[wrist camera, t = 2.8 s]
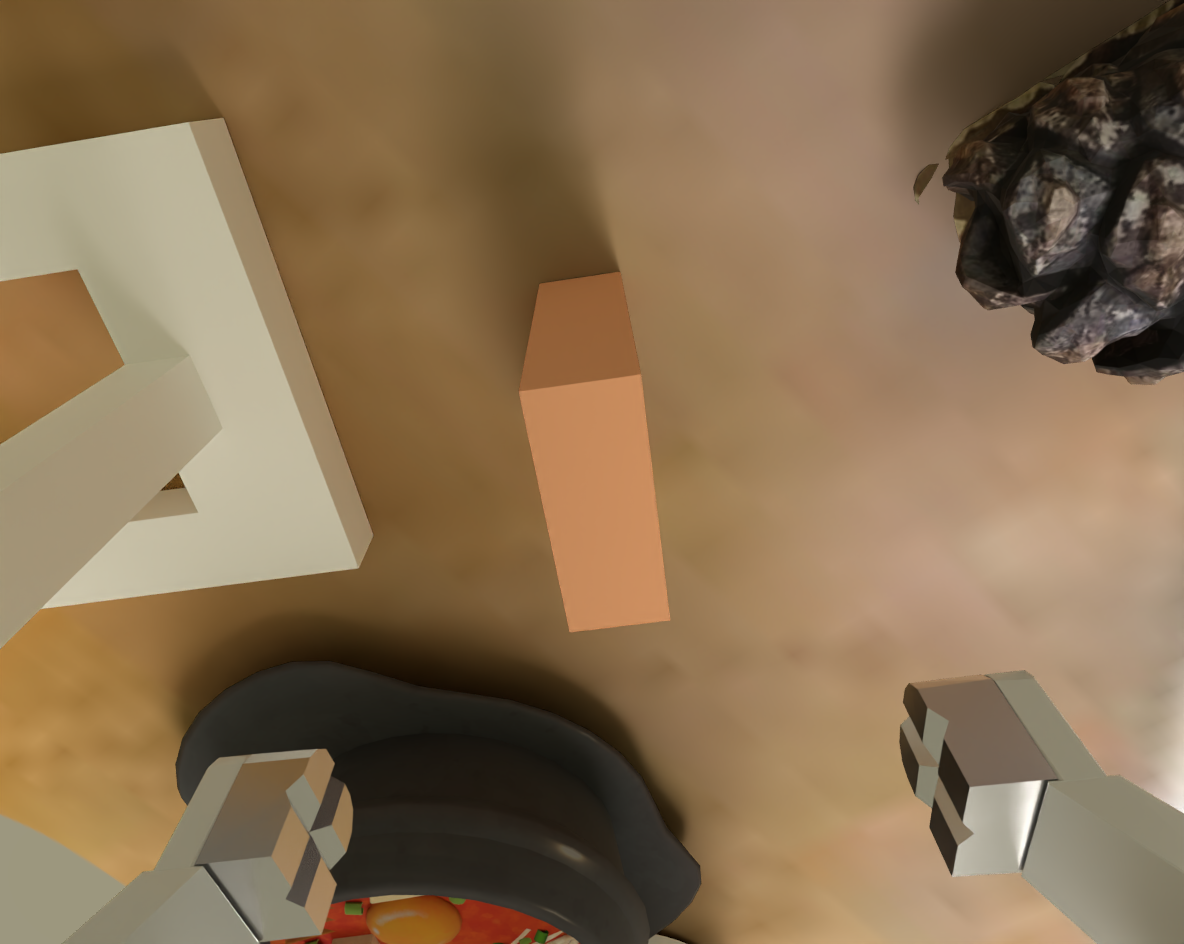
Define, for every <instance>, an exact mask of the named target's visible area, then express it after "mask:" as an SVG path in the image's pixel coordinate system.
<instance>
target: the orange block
mask: <svg viewBox="0 0 1184 944" xmlns="http://www.w3.org/2000/svg"><path fill="white" fill-rule="evenodd" d="M519 396H520V400H521V405H522V410H523V415H524V419H525V424H526V429H527V434H528V438H529V443H530V448H531V452H532V457H533V462H534V467H535V471H536V476H537V481H538V485H539V490H540V495H541V500H542V504H543V509H544V514H545V518H546V523H547V528H548V533H549V537H550V542H551V547H552V551H553V556H554V561H555V566H556V570H557V575H558V580H559V584H560V589H561V594H562V599H563V603H564V608H565V613H566V618H567V622H568V627H569V632H578V631H586V630H594V629H602V628H611V627H619V626H627V625H636V624H644V623H652V622H660V621H669V620H670V614H669V606H668V597H667V589H666V580H665V572H664V564H663V555H662V547H661V538H660V530H659V521H658V513H657V505H656V496H655V488H654V479H653V471H652V463H651V454H650V446H649V437H648V429H647V421H646V412H645V404H644V395H643V387H642V378H641V372H640V367H639V362H638V357H637V352H636V347H635V342H634V337H633V332H632V327H631V322H630V317H629V312H628V307H627V302H626V298H625V293H624V288H623V283H622V278H621V273H620V272H614V273H607V274H601V275H594V276H587V277H581V278H574V279H567V280H561V281H554V282H547V283H541V284H539V289H538V295H537V300H536V305H535V310H534V315H533V320H532V325H531V331H530V336H529V341H528V346H527V351H526V356H525V362H524V367H523V372H522V377H521V382H520V387H519Z"/></svg>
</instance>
